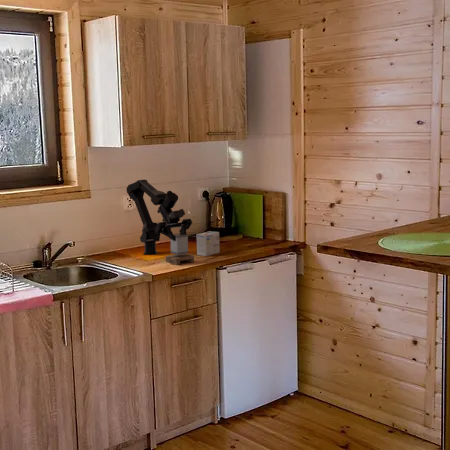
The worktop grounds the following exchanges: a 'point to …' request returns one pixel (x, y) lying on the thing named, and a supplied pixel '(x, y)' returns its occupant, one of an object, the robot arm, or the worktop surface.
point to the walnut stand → (179, 258)
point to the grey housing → (179, 244)
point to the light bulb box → (208, 243)
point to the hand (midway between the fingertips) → (180, 239)
